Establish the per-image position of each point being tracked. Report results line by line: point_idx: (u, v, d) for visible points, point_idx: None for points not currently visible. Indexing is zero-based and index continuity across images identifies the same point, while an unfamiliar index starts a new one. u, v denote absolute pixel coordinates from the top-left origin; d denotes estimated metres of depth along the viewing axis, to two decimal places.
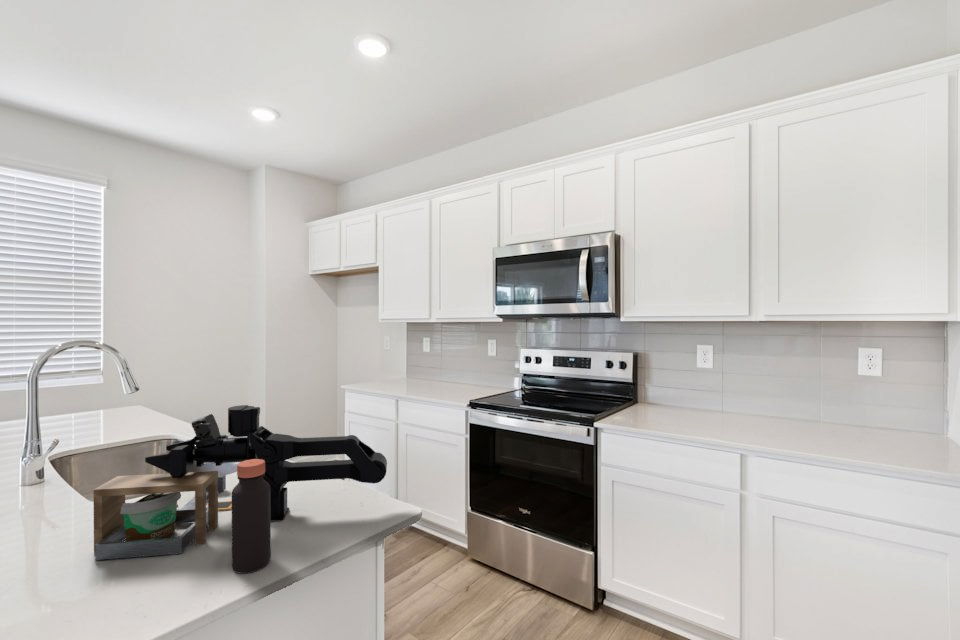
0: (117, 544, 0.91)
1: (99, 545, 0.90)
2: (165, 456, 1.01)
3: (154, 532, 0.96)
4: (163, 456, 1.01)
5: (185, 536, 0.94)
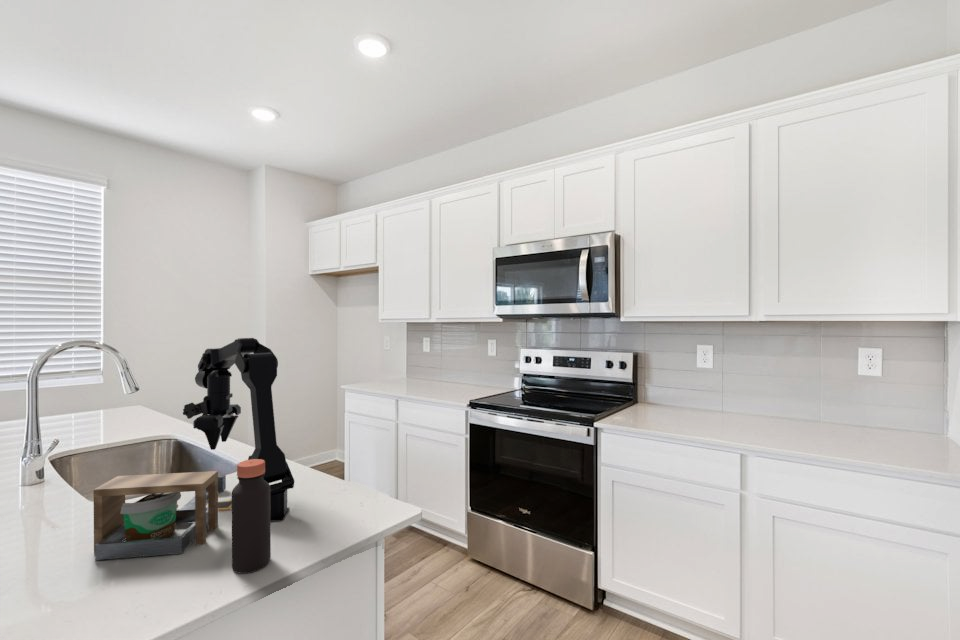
0: (117, 544, 0.91)
1: (99, 545, 0.90)
2: (207, 434, 1.26)
3: (154, 532, 0.96)
4: (207, 435, 1.26)
5: (185, 536, 0.94)
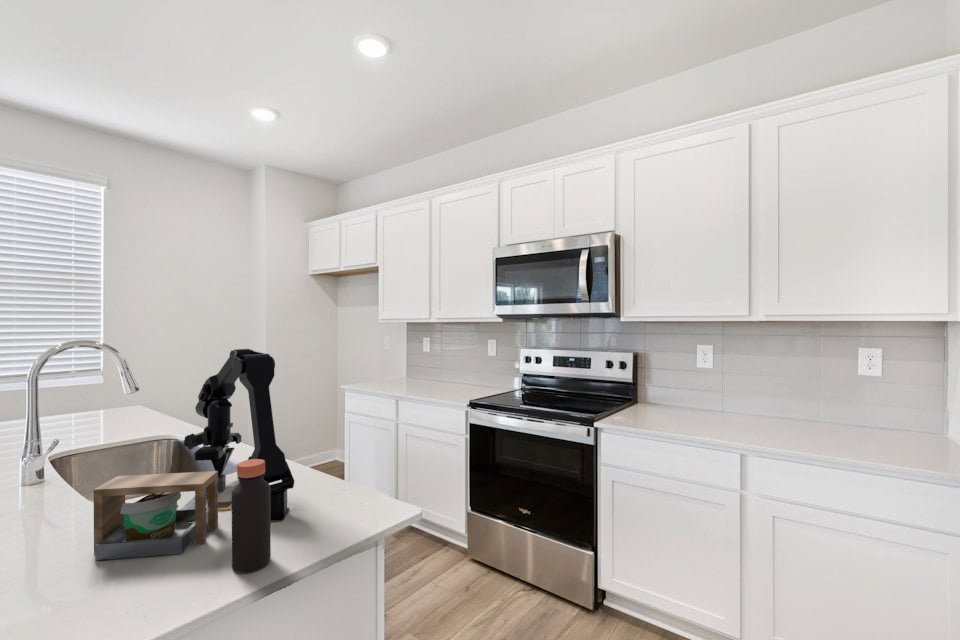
0: (117, 544, 0.91)
1: (99, 545, 0.90)
2: (213, 461, 1.30)
3: (154, 532, 0.96)
4: (213, 462, 1.30)
5: (185, 536, 0.94)
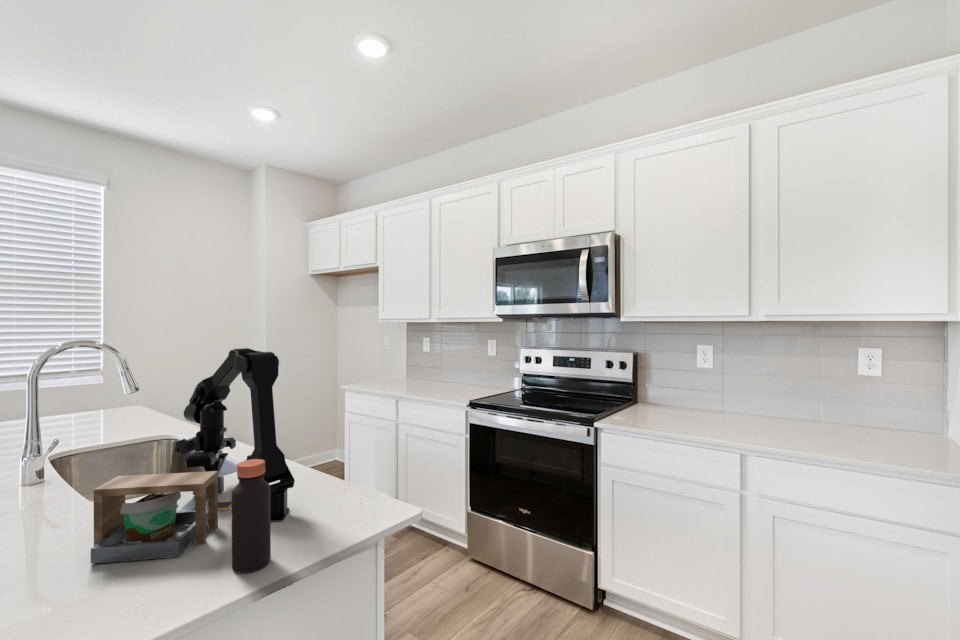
0: (113, 547, 0.89)
1: (94, 548, 0.89)
2: (206, 467, 1.25)
3: (154, 532, 0.96)
4: (206, 468, 1.25)
5: (182, 539, 0.93)
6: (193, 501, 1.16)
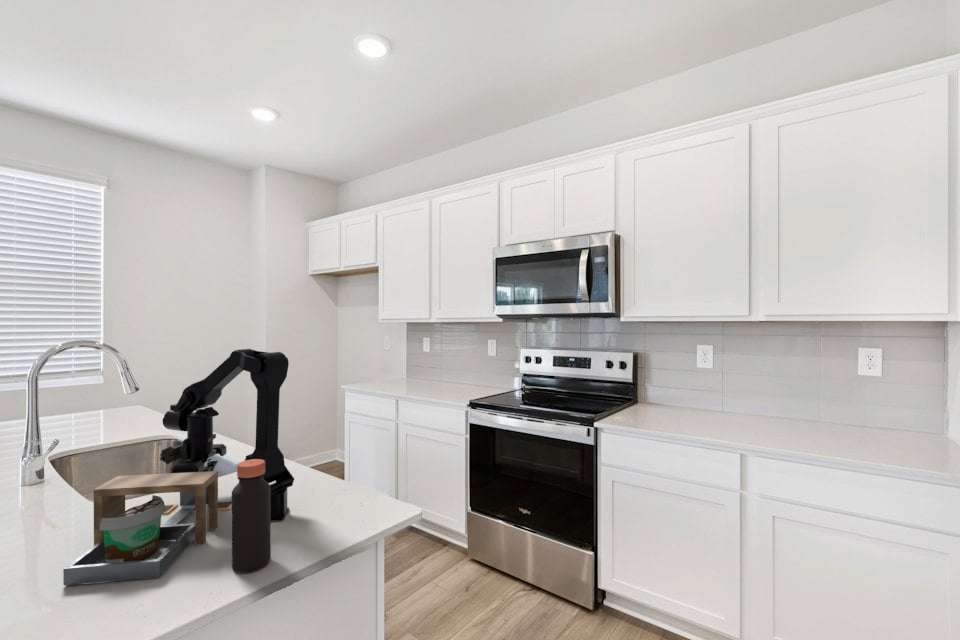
0: (88, 568, 0.82)
1: (68, 569, 0.82)
2: None
3: (136, 549, 0.89)
4: None
5: (164, 558, 0.86)
6: (179, 513, 1.09)
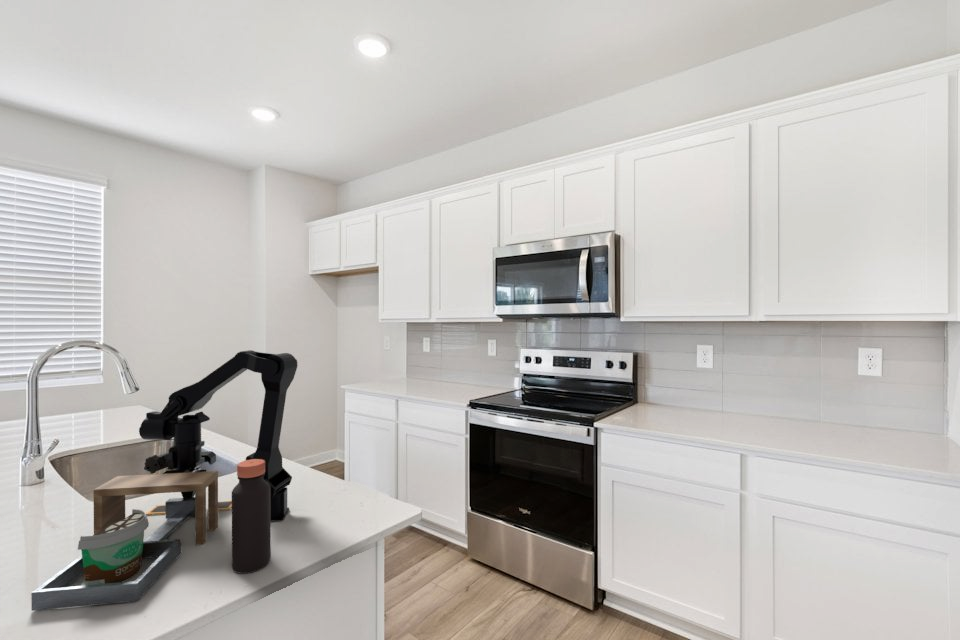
0: (58, 591, 0.75)
1: (36, 593, 0.75)
2: None
3: (119, 568, 0.83)
4: None
5: (142, 579, 0.79)
6: (164, 527, 1.02)
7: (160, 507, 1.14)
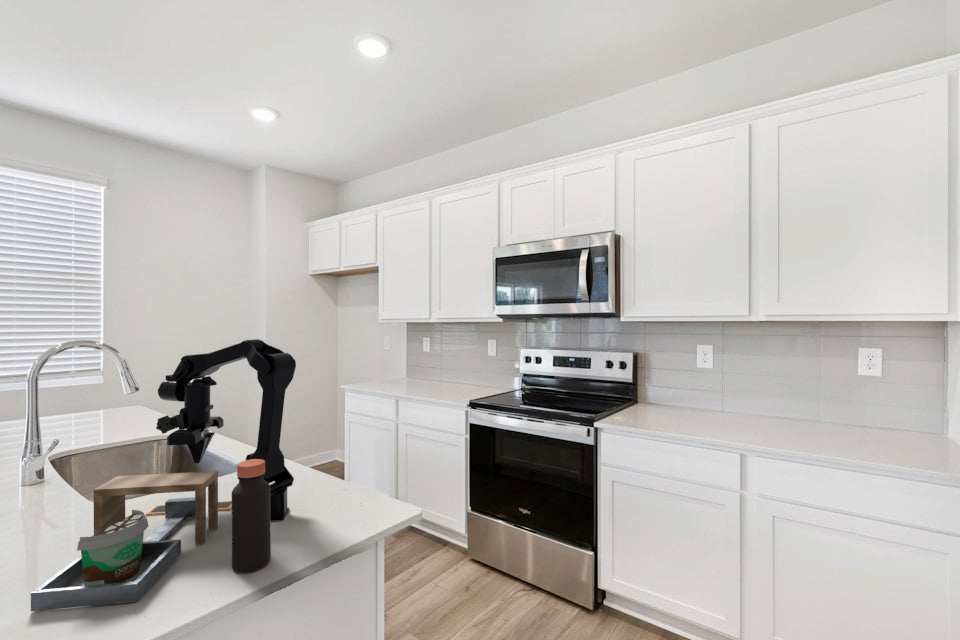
0: (58, 592, 0.75)
1: (36, 593, 0.75)
2: (190, 446, 1.16)
3: (119, 568, 0.82)
4: (190, 448, 1.16)
5: (142, 580, 0.79)
6: (164, 527, 1.02)
7: (160, 507, 1.14)
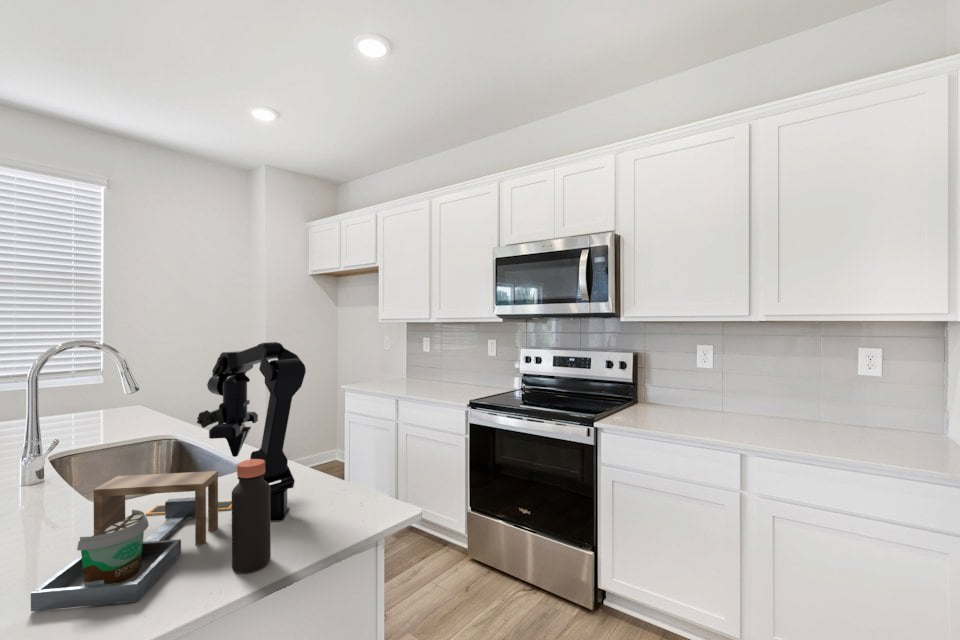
0: (58, 592, 0.75)
1: (36, 593, 0.75)
2: (229, 440, 1.20)
3: (119, 568, 0.83)
4: (229, 442, 1.20)
5: (142, 580, 0.79)
6: (164, 527, 1.02)
7: (160, 507, 1.14)
